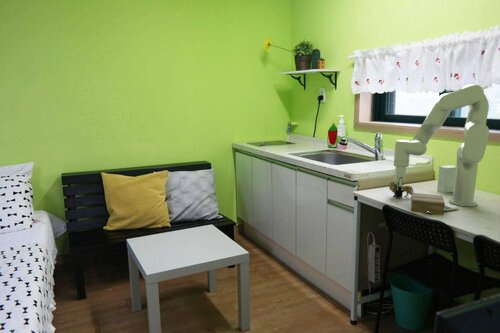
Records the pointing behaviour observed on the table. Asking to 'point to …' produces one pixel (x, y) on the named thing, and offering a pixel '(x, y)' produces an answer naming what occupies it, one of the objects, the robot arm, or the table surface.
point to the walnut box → (427, 203)
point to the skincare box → (446, 178)
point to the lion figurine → (405, 188)
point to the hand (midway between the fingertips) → (398, 195)
